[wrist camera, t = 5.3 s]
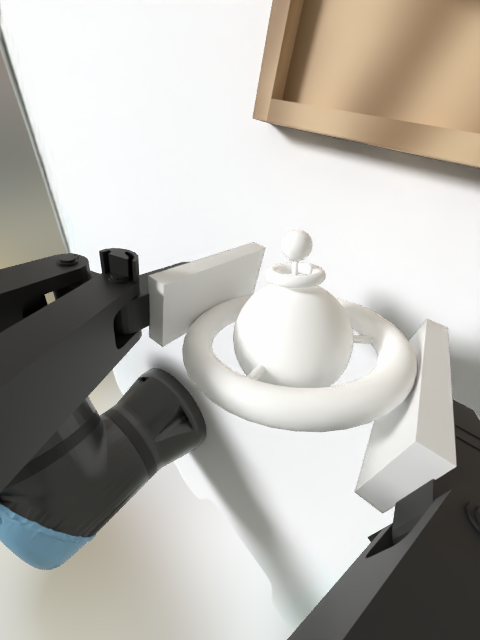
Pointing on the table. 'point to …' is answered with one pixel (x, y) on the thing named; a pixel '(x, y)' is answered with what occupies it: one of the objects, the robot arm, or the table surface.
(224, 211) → the table surface
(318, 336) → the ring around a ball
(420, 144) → the divided wooden tray
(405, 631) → the robot arm
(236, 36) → the table surface
